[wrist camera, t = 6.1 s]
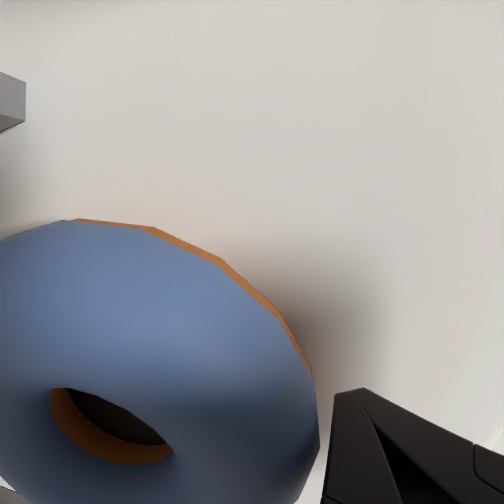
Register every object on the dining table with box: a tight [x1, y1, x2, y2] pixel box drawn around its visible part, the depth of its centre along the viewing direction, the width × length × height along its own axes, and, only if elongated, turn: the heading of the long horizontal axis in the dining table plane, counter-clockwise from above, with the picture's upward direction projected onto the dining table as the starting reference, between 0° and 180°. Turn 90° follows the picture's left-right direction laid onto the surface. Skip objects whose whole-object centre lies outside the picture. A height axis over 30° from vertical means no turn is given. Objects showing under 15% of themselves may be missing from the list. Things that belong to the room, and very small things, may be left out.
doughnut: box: [0, 219, 320, 504], centre depth 7 cm, size 10×10×5 cm
